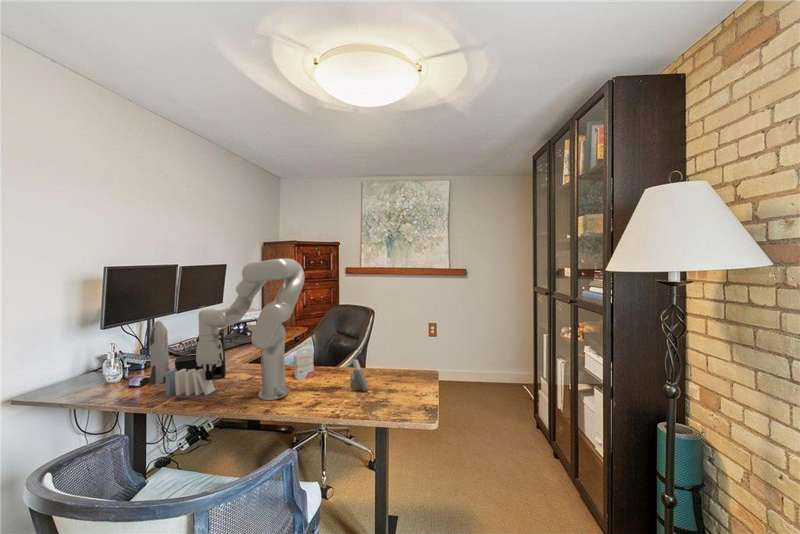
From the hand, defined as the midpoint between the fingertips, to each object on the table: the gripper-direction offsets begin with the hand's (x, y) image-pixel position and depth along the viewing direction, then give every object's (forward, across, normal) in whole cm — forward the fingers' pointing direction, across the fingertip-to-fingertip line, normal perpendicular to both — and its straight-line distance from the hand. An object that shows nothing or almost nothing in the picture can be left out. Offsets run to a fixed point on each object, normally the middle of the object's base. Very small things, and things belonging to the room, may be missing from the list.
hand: (209, 379), depth 156 cm
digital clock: (+6, -65, -12) cm, 66 cm away
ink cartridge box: (+7, -34, -23) cm, 42 cm away
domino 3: (+6, +9, 0) cm, 11 cm away
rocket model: (+7, +35, -15) cm, 38 cm away
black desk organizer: (+7, +18, -19) cm, 27 cm away
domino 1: (+6, +18, 0) cm, 19 cm away
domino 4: (+6, +4, 0) cm, 8 cm away
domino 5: (+6, 0, 0) cm, 6 cm away
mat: (+7, +9, 0) cm, 11 cm away
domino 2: (+6, +13, 0) cm, 15 cm away
